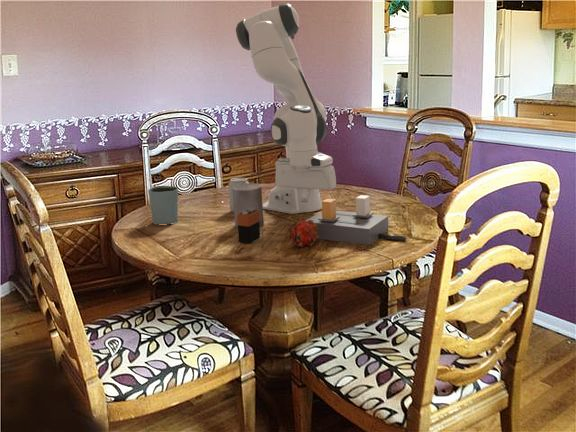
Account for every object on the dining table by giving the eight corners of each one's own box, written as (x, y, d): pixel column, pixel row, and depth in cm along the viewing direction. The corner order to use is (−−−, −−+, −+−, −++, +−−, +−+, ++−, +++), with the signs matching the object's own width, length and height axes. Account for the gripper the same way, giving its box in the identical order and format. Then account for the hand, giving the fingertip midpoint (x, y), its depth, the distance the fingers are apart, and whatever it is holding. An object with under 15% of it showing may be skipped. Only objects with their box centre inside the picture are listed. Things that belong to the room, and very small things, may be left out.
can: (242, 214, 231) (240, 181, 228) (226, 212, 235) (224, 180, 232) (254, 209, 237) (252, 177, 234) (238, 207, 241) (236, 176, 238)
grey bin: (145, 222, 224) (142, 189, 221) (168, 216, 232) (166, 184, 228) (163, 227, 218) (160, 193, 215) (186, 221, 225) (183, 187, 222)
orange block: (318, 220, 200) (318, 201, 198) (325, 216, 204) (325, 197, 202) (333, 221, 197) (332, 202, 196) (339, 217, 201) (339, 199, 200)
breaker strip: (304, 236, 202) (303, 221, 201) (326, 223, 215) (325, 209, 214) (397, 248, 187) (397, 231, 186) (414, 233, 201) (414, 218, 199)
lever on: (352, 216, 202) (352, 197, 201) (358, 212, 207) (358, 194, 205) (367, 218, 200) (367, 199, 199) (373, 214, 204) (373, 195, 203)
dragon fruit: (315, 244, 199) (299, 261, 190) (294, 227, 200) (277, 243, 191) (329, 225, 195) (313, 242, 185) (307, 208, 196) (290, 224, 186)
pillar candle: (250, 220, 223) (247, 178, 219) (269, 225, 216) (267, 181, 212) (229, 226, 216) (225, 183, 212) (248, 231, 210) (245, 187, 206)
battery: (260, 238, 202) (259, 207, 199) (249, 244, 196) (248, 212, 194) (249, 236, 204) (247, 206, 201) (237, 242, 198) (235, 211, 196)
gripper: (270, 159, 202) (272, 202, 205) (328, 161, 192) (330, 206, 195) (280, 156, 207) (282, 197, 210) (337, 157, 197) (339, 201, 200)
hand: (306, 202), depth 203 cm, fingers closed
